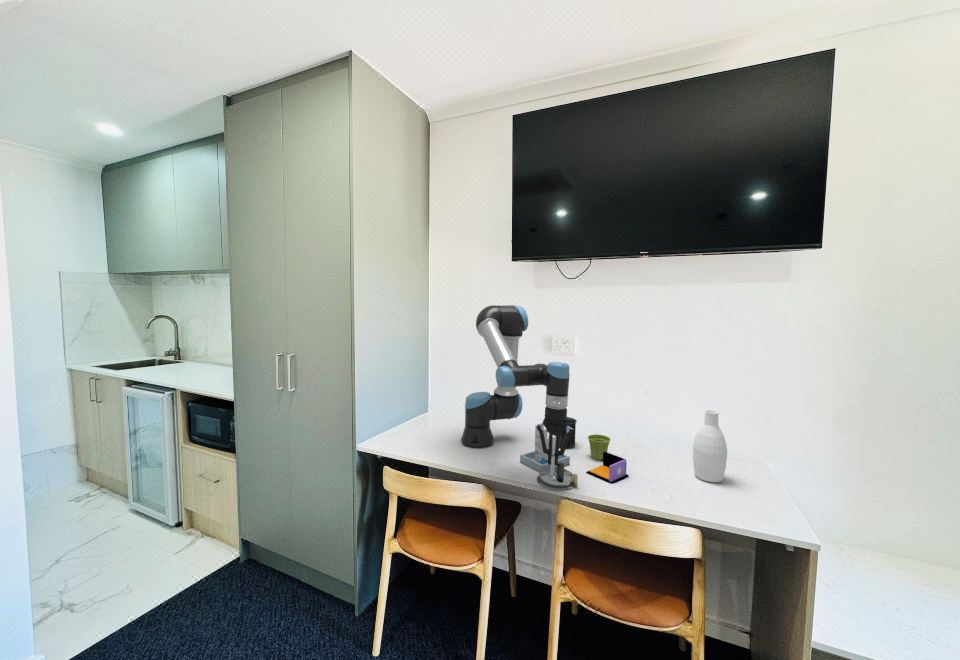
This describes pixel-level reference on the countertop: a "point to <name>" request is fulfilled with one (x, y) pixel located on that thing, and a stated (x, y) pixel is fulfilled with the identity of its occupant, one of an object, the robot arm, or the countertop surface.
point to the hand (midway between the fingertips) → (552, 473)
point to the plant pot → (598, 445)
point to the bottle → (710, 450)
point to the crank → (556, 476)
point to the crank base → (560, 488)
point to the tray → (530, 461)
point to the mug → (571, 440)
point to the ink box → (539, 453)
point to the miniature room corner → (610, 469)
